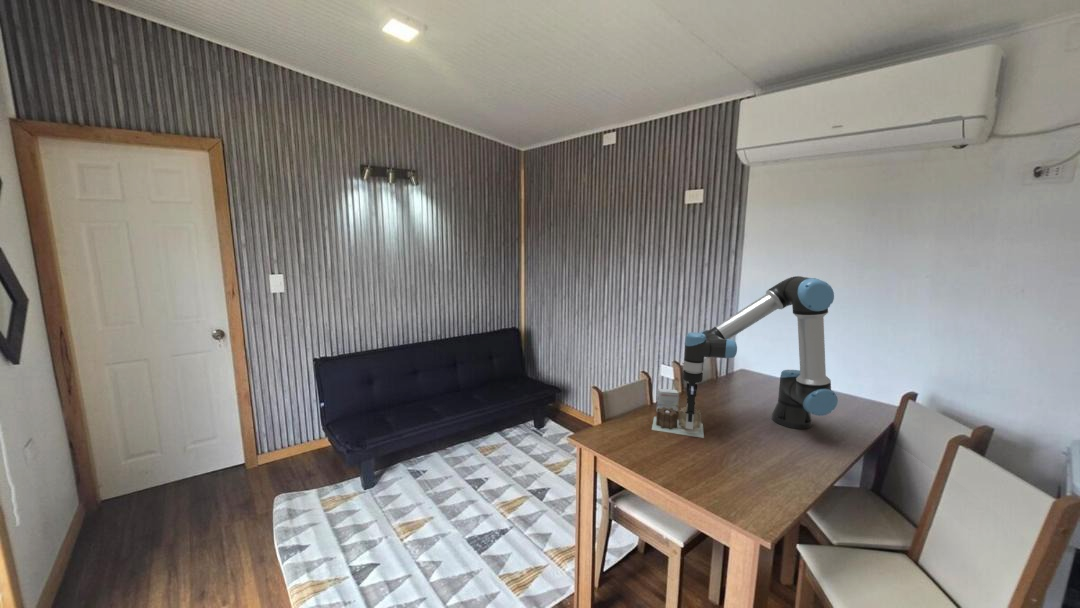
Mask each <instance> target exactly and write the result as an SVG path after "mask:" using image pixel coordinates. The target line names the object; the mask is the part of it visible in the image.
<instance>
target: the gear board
mask: <svg viewBox="0 0 1080 608" xmlns="http://www.w3.org/2000/svg"><path fill="white" fill-rule="evenodd" d="M669 412H670V411H666V413H669ZM656 419H657V416H656V415H655V416H653V421H652V425H651V430H652V431H658V432H662V433H663V432H664V433H669V434H677V435H683V436H687V437H688V436H689V437H696V438H703V439H704V438H705V435H704V425H703V423H702V422H700V428H695V429H687V428H684V426H682V425H679V424H678V423H679V419H678V421H677V428H672V429H668V428H661V426H659V425H656Z"/></svg>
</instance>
